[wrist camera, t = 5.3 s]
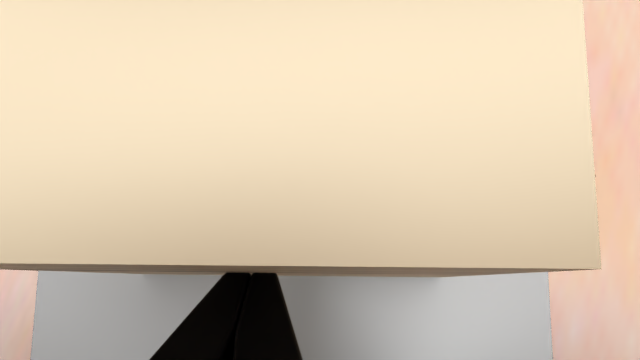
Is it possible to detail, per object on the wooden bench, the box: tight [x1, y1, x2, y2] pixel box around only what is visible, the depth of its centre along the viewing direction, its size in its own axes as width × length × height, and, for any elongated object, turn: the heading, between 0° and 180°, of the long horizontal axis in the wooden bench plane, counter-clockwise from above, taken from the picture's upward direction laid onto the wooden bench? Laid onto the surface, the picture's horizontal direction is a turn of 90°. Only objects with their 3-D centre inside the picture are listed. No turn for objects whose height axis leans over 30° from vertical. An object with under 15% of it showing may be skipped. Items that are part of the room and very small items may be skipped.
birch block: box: [0, 0, 601, 277], centre depth 10 cm, size 9×7×9 cm
